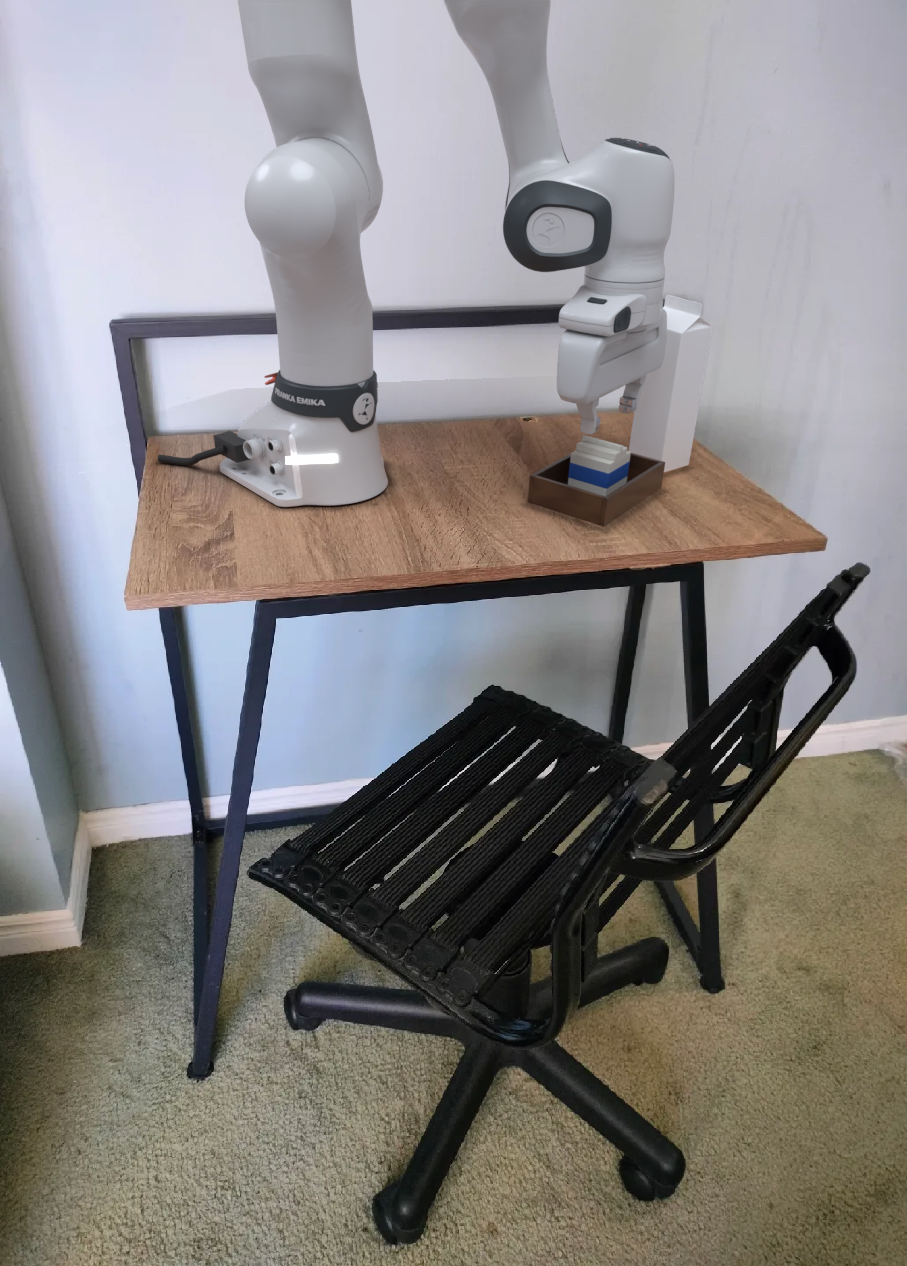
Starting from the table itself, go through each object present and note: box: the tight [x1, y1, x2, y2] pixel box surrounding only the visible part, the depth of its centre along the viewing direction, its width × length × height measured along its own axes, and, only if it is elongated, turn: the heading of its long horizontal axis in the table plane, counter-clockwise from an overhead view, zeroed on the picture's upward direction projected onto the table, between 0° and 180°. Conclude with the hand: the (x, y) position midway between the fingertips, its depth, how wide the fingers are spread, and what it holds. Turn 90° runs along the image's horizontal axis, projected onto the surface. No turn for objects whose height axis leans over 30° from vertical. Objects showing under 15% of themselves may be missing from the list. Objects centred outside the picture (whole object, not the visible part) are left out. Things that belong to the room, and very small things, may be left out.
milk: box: [628, 294, 714, 473], centre depth 120 cm, size 6×6×22 cm
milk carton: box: [568, 434, 631, 496], centre depth 114 cm, size 5×5×7 cm
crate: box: [527, 453, 665, 528], centre depth 115 cm, size 11×15×4 cm
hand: (609, 421), depth 111 cm, fingers open, 8 cm apart
